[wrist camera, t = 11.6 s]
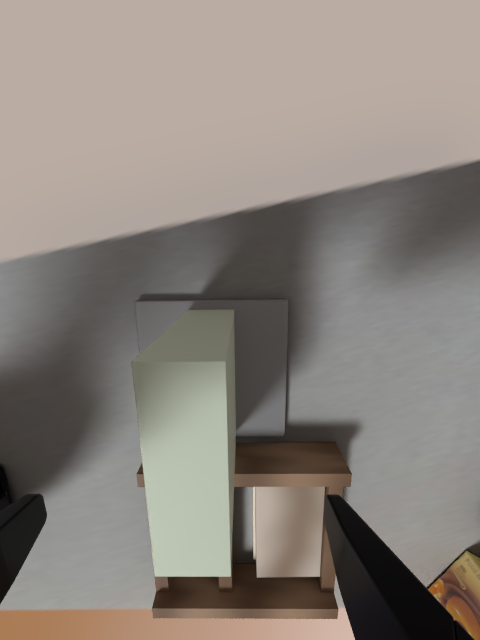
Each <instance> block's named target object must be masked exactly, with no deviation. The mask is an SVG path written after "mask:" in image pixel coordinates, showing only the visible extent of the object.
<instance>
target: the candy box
mask: <svg viewBox="0 0 480 640" xmlns="http://www.w3.org/2000/svg"><path fill="white" fill-rule="evenodd" d="M428 590H429V591H430V592H431V593H432V595H433V596H434V597H435V598H436V599H437V600H438V601H439V602H440V603H441V604H442V605H443V606H444V607H445V609H446V610H447V611H448V612H449V613H450V614H451V615H452V616H453V619H454V620H457V621H458V622H459V623H460V624H461V626H462V627H463V628H464V629H465V630H466V631H467V632H468V633H469V634H470V635H471V636H472V637H473V638H474V640H480V558H479V557H477V556H475V555H474V554H472V553H470V552H468V551H466V552H465V553H464V554H463V555H462V556H461V557H460V558H459V559H458V560H457V561H455V562H454V563H453V564H452V565H451V567H450V568H449V569H448V570H447V571H446V572H445V573H444V574H443V575H442V576H441V577H440V578H439V579H438V580H437V581H436V582H435V583H434V584H433V585H432V586H431V587H430V588H429V589H428Z"/></svg>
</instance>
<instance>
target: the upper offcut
mask: <svg viewBox="0 0 480 640" xmlns="http://www.w3.org/2000/svg"><path fill="white" fill-rule="evenodd" d="M324 495H325V487H255V529H256V572H257V578H259V577H320V564H321V546H322V529H323V512H324Z"/></svg>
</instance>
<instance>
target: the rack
mask: <svg viewBox="0 0 480 640" xmlns="http://www.w3.org/2000/svg"><path fill="white" fill-rule="evenodd" d="M351 476H352V473H351V471H350V470H349V468H348V466H347V464H346V462H345V460H344V458H343V456H342V454H341V452H340V450H339V448H338V446H337V444H336V442H318V443H236V448H235V475H234V487H325V495H324V507H325V497H326V495H327V494H338V495H340V496H341V497H343V487H350V486H351ZM137 483H138V487H145V482H144V473H143V464H141V466H140V468H139V470H138V472H137ZM145 493H146V491H145ZM146 502H147V501H146ZM147 511H148V510H147ZM148 520H149V519H148ZM149 530H150V528H149ZM150 539H151V537H150ZM151 548H152V546H151ZM152 557H153V555H152ZM153 566H154V565H153ZM335 573H336V572H335V568H334V563H333V559H332V554H331V550H330V545H329V541H328V536H327V532H326V527H325V522H324V512H323V529H322V546H321V564H320V577H259V578H257V572H256V564H233V545H232V559H231V577H155V585H156V595H155V599H154V603H153V607H152V612H153V618H275V619H276V618H279V619H280V618H282V619H283V618H285V619H289V618H290V619H293V618H294V619H295V618H296V619H337V616H338V606H337V603H336V599H335V596H334V584H335ZM154 575H155V574H154Z"/></svg>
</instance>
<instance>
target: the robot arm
mask: <svg viewBox="0 0 480 640" xmlns="http://www.w3.org/2000/svg"><path fill="white" fill-rule="evenodd" d="M46 518H47V512H46V508H45V503H44V499H43V496H42V495H41V494H28V495H25V496H24V497H22V498H20V499H19V500H17V501H16V502H14V503H13V504H12V502H11V498H10V494H9V490H8V486H7V482H6V478H5V474H4V470H3V468H2V467H1V466H0V604H1V602H2V600H3V599H4V597H5V596H6V594H7V592H8V591H9V589H10V587H11V585H12V584H13V582H14V580H15V578H16V577H17V575H18V573H19V571H20V569H21V567H22V565H23V564H24V562H25V560H26V558H27V556H28V554H29V552H30V550H31V548H32V547H33V545H34V543H35V541H36V539H37V537H38V535H39V533H40V531H41V530H42V528H43V526H44V524H45V521H46ZM324 522H325V527H326V532H327V536H328V541H329V545H330V550H331V554H332V559H333V563H334V568H335V572H336V576H337V581H338V585H339V589H340V592H341V595H342V599H343V602H344V605H345V608H346V612H347V615H348V618H349V621H350V624H351V627H352V631H353V634H354V637H355V640H474V638H473V637H472V636H471V635H470V634H469V633H468V632H467V631H466V630H465V629H464V628H463V627H462V626H461V624H460V623H459V622H458V621H457V620H454V619H453V616H452V615H451V614H450V613H449V612H448V611H447V610H446V609H445V607H444V606H443V605H442V604H441V603H440V602H439V601H438V600H437V599H436V598H435V597H434V596H433V595H432V593H431V592H430V591H429V590H428V589H427V588H426V587H425V586H424V585H423V584H422V583H421V582H420V581H419V580H418V578H417V577H416V576H415V575H414V574H413V573H412V572H411V571H410V570H409V569H408V568H407V567H406V566H405V564H404V563H403V562H402V561H401V560H400V559H399V558H398V557H397V556H396V555H395V554H394V553H393V552H392V551H391V549H390V548H389V547H388V546H387V545H386V544H385V543H384V542H383V541H382V540H381V539H380V538H379V537H378V535H377V534H376V533H375V532H374V531H373V530H372V529H371V528H370V527H369V526H368V525H367V524H366V523H365V521H364V520H363V519H362V518H361V517H360V516H359V515H358V514H357V513H356V512H355V511H354V510H353V509H352V508H351V506H350V505H349V504H348V503H347V502H346V501H345V500H344V499H343V498H342V497H341V496H340V495H338V494H327V495H326V497H325V507H324Z"/></svg>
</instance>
